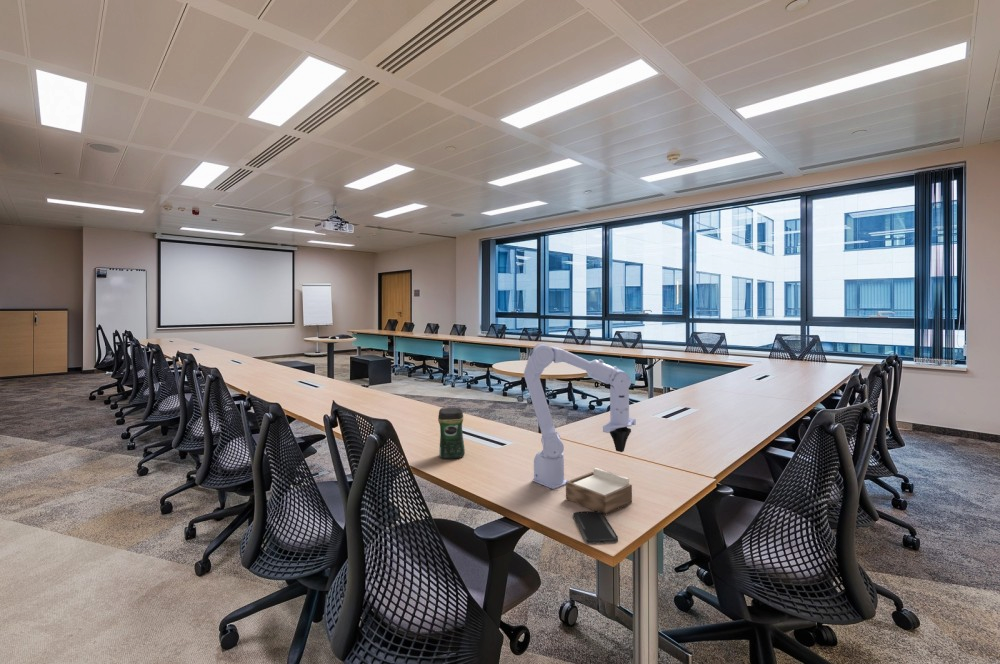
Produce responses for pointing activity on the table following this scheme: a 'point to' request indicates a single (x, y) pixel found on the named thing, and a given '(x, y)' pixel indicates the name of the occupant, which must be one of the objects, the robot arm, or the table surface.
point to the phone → (595, 527)
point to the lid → (603, 481)
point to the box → (598, 496)
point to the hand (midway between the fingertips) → (619, 451)
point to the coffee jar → (451, 433)
